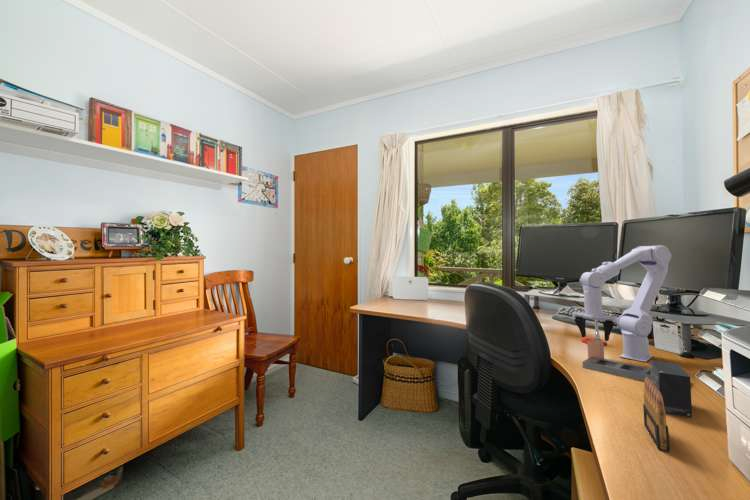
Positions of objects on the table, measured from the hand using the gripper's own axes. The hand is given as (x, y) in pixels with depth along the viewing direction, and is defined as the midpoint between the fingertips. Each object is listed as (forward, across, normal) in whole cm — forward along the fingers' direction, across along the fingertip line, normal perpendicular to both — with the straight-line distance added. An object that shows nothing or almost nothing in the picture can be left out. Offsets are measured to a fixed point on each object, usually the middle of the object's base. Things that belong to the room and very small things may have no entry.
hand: (595, 338), depth 120 cm
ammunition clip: (+8, +27, -48) cm, 56 cm away
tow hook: (+8, -9, +24) cm, 27 cm away
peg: (+8, 0, 0) cm, 8 cm away
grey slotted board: (+8, +13, -8) cm, 17 cm away
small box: (+8, +26, -28) cm, 39 cm away
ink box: (+8, +15, +30) cm, 35 cm away
